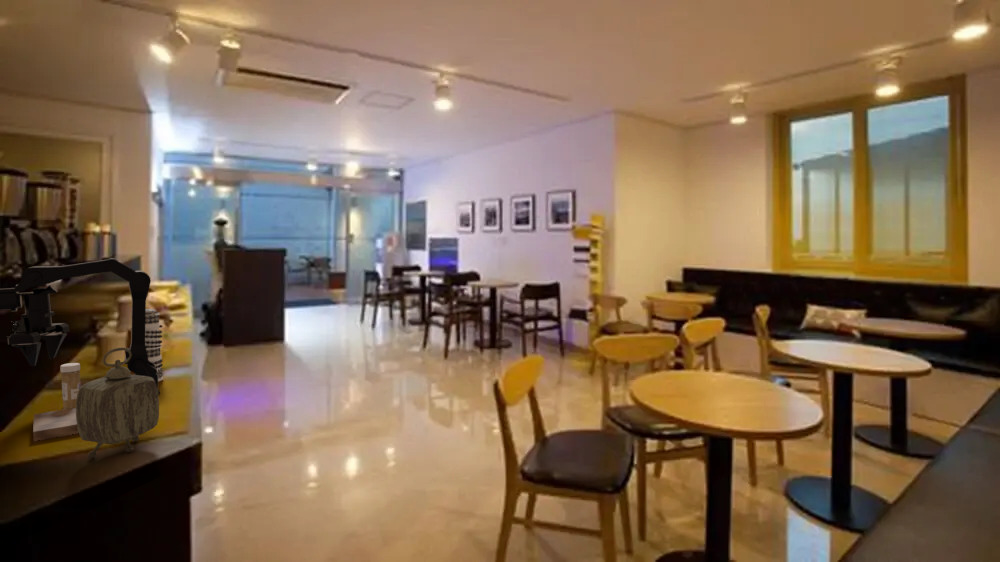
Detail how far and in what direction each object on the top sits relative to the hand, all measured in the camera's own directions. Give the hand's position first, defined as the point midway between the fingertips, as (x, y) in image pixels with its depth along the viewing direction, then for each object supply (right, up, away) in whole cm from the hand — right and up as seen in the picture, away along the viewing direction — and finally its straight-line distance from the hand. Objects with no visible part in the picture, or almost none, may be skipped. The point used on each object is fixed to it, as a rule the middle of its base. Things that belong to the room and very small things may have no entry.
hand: (42, 362), depth 161 cm
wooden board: (+21, -15, -12) cm, 28 cm away
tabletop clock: (+44, -17, -30) cm, 56 cm away
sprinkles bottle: (+9, -14, 0) cm, 17 cm away
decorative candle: (+11, -11, +32) cm, 35 cm away
